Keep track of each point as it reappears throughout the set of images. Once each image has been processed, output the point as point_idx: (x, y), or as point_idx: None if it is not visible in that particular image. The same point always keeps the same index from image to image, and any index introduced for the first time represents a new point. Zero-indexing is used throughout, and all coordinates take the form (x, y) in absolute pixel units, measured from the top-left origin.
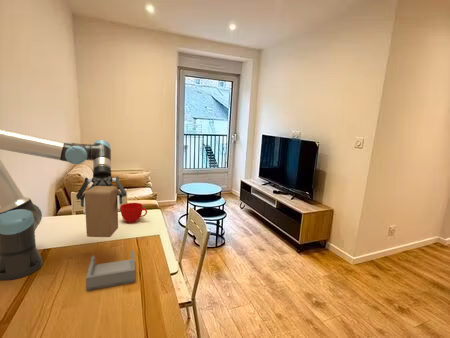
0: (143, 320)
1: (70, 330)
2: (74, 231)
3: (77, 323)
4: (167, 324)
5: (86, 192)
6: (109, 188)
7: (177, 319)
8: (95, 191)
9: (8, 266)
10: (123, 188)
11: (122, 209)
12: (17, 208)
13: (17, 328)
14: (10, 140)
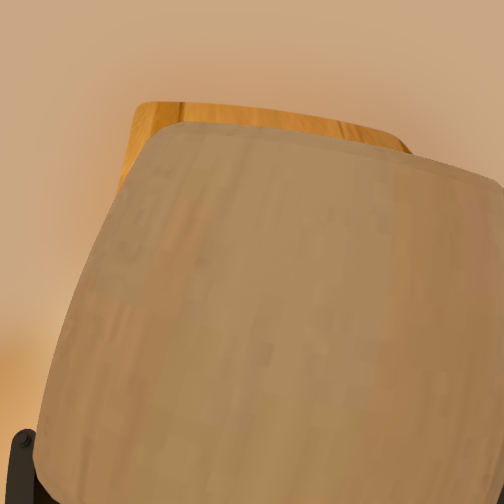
0: (182, 119)
1: (296, 117)
2: None
3: (290, 126)
4: (151, 112)
5: (487, 179)
6: (122, 334)
7: (135, 119)
8: (373, 152)
9: None
10: (9, 490)
11: None
12: None
13: (384, 138)
14: None
